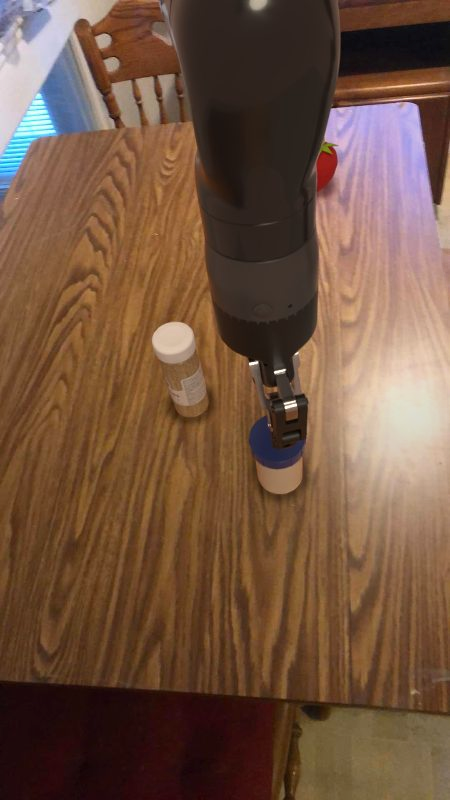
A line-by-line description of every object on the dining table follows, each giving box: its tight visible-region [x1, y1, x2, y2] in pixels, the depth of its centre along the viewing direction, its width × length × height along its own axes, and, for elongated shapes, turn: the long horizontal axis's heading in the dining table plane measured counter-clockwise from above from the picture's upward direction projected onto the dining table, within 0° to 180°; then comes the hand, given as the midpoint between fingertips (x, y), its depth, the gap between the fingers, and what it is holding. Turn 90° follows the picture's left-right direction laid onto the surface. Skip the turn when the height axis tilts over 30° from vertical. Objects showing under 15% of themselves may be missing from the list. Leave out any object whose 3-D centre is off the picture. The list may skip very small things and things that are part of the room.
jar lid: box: [248, 414, 307, 470], centre depth 57 cm, size 6×6×2 cm
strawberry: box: [316, 136, 339, 192], centre depth 87 cm, size 6×8×10 cm
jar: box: [254, 457, 304, 495], centre depth 60 cm, size 5×5×8 cm
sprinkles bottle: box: [151, 321, 210, 418], centre depth 65 cm, size 5×5×13 cm
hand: (273, 410), depth 52 cm, fingers open, 7 cm apart
